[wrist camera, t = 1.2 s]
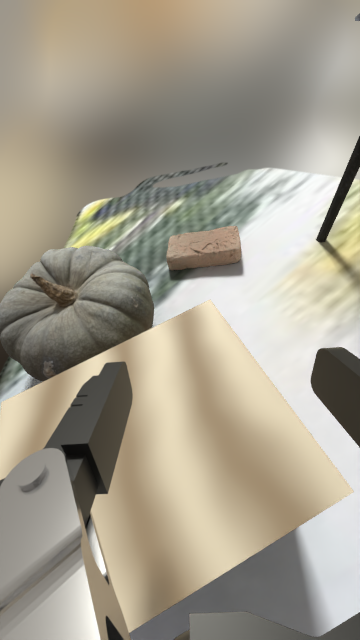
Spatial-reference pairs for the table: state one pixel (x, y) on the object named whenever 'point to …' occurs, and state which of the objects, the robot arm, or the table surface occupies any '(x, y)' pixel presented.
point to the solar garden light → (341, 188)
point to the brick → (204, 248)
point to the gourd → (73, 309)
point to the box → (186, 460)
